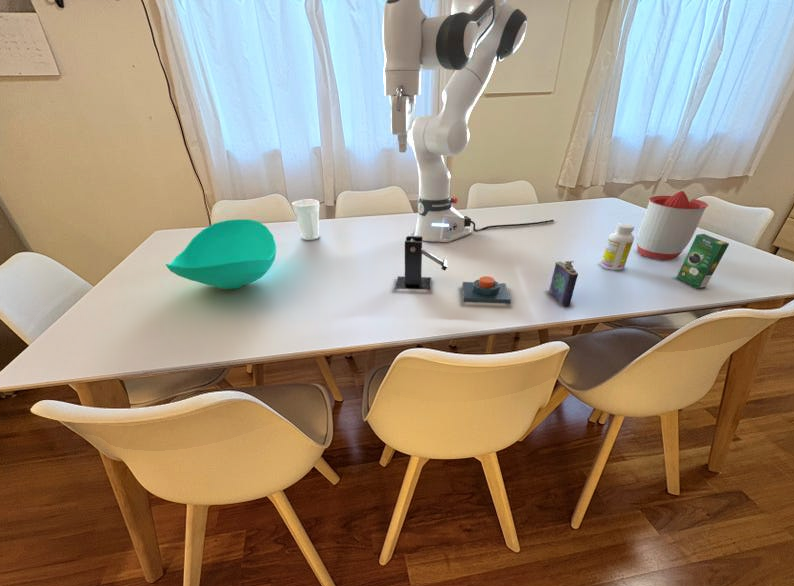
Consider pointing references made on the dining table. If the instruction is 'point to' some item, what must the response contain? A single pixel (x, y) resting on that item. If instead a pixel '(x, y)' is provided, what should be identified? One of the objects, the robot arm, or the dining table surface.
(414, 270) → the bracket
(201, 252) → the table top decor
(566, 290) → the flask
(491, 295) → the button box
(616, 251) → the supplement bottle
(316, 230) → the cup
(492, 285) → the button
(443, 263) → the lever
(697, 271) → the coffee box
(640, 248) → the citrus juicer
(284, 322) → the dining table surface
